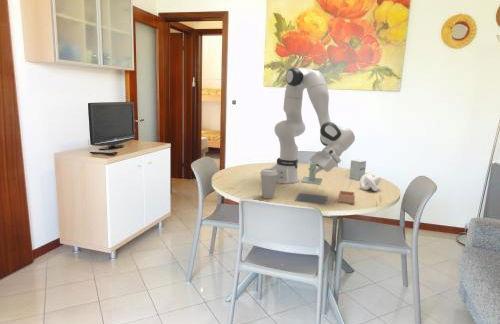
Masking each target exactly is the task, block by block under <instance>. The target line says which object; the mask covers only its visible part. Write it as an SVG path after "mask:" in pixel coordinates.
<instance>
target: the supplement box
mask: <svg viewBox="0 0 500 324" xmlns="http://www.w3.org/2000/svg"><path fill="white" fill-rule="evenodd" d="M366 166H367V160H365V159H364V160H363V159H360V158H359V159H357V158H356V159H351V160H350V167H349V179H351V180H356V181H360V179H361V177H362V176H363V175H365V174H366Z"/></svg>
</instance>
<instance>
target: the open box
mask: <svg viewBox="0 0 500 324" xmlns="http://www.w3.org/2000/svg"><path fill="white" fill-rule="evenodd" d="M355 195H356V192H355V191H347V190H339V193H338V198H337V199H338V201H337V202H338V203H343V204H349V205H354V206H355V199H356V198H355Z"/></svg>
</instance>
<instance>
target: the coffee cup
mask: <svg viewBox="0 0 500 324" xmlns="http://www.w3.org/2000/svg"><path fill="white" fill-rule="evenodd" d="M259 174H260V179H261V181H260V182H261V183H260V184H261V197H262V198H263V199H266V198H271V199H273V198H275V192H276V184H277V182H276V178H277V175H278V173H277V171H276V170H275V169H270V168H268V167H267V168H262V169H261V171H260V172H259Z"/></svg>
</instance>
